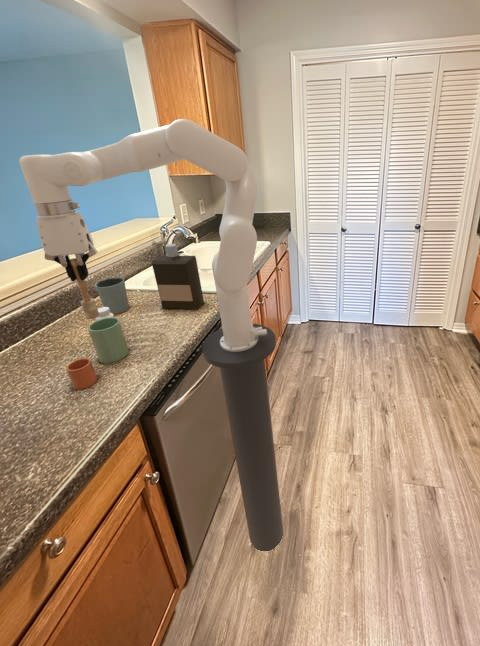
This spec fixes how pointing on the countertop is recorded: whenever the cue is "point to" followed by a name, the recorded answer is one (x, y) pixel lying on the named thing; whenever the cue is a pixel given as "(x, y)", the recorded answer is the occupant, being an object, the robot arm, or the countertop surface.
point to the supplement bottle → (104, 313)
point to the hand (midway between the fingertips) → (79, 278)
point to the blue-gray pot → (113, 294)
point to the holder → (81, 373)
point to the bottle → (178, 280)
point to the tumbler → (108, 339)
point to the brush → (85, 294)
